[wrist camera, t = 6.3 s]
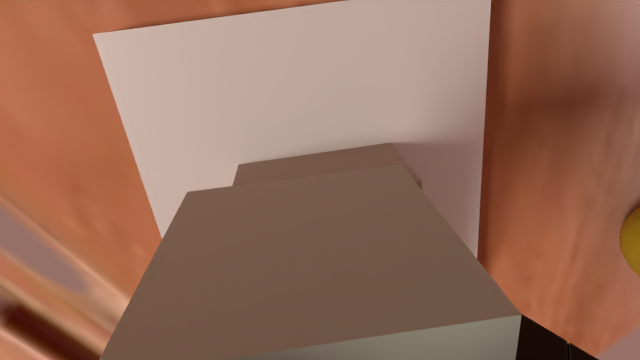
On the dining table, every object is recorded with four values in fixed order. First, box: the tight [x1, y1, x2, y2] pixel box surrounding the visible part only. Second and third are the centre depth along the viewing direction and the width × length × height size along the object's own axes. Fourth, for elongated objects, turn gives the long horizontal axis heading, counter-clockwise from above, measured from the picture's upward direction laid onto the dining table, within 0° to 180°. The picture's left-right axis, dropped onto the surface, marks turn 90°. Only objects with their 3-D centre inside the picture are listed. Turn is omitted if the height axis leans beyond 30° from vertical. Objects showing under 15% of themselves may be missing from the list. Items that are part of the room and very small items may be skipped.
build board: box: [93, 0, 491, 258], centre depth 19 cm, size 18×18×6 cm
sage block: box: [99, 164, 522, 360], centre depth 8 cm, size 5×5×5 cm
